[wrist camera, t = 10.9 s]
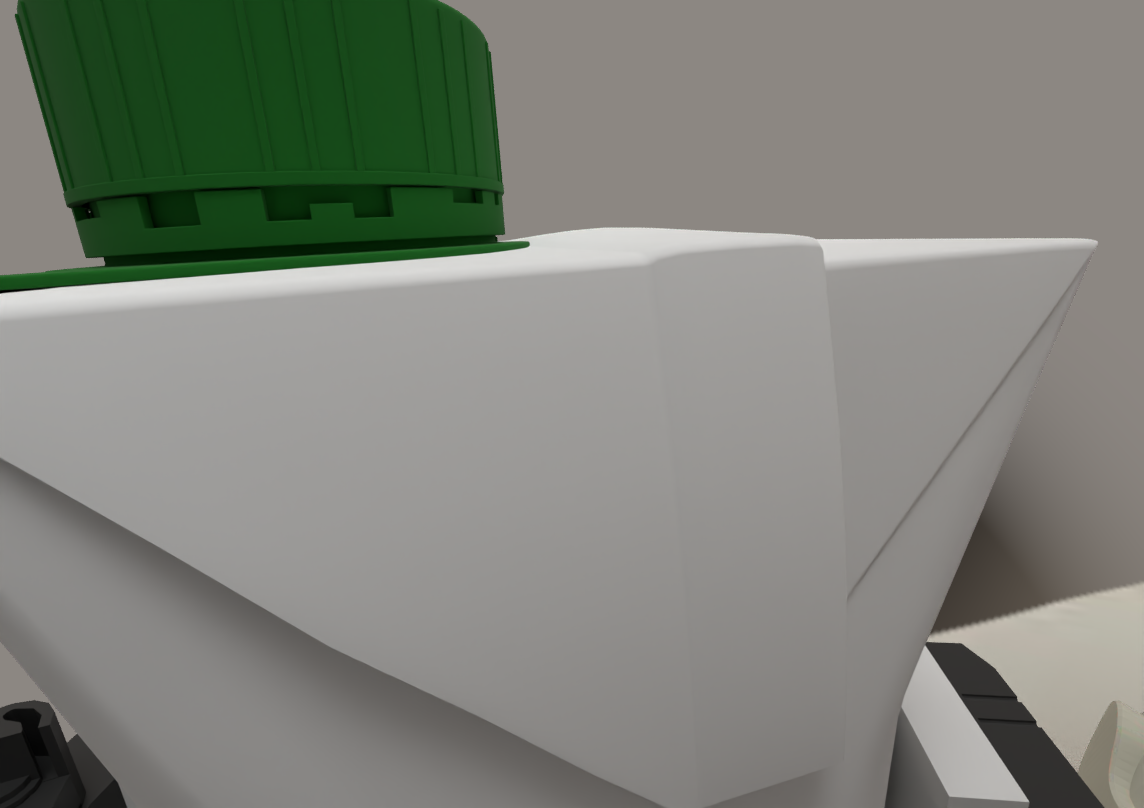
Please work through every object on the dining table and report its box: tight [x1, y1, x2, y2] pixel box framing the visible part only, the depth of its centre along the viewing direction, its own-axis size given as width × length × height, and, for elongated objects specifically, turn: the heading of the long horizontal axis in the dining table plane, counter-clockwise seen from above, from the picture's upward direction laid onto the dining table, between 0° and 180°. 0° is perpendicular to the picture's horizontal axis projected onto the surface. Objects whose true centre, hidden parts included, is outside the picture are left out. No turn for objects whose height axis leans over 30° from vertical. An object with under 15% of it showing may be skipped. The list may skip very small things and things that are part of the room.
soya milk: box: [0, 0, 1098, 808], centre depth 9 cm, size 9×9×20 cm
